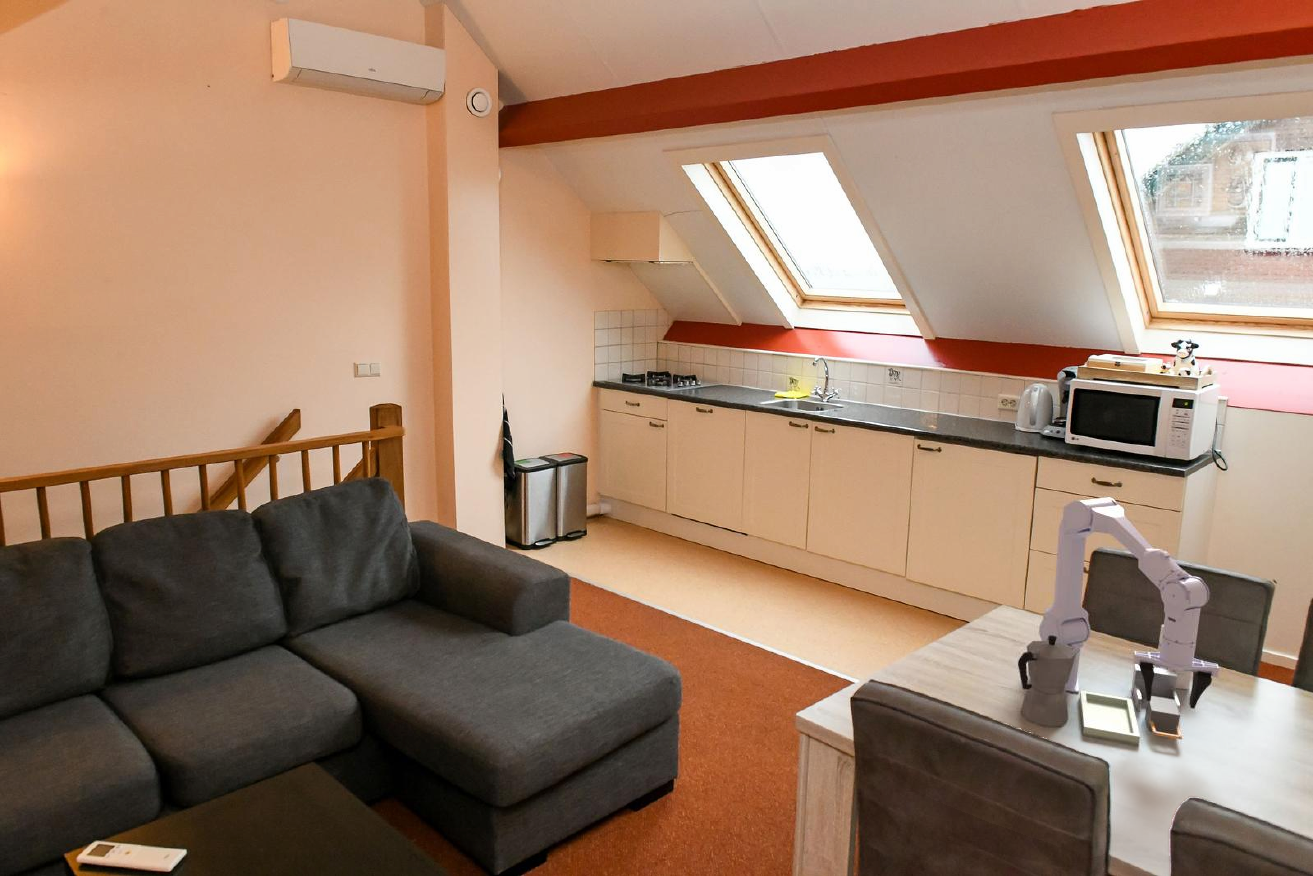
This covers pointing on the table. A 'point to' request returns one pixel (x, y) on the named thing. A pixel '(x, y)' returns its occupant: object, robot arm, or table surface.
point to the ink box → (1182, 676)
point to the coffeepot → (1046, 681)
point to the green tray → (1108, 718)
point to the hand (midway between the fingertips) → (1169, 702)
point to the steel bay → (1155, 685)
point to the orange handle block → (1163, 717)
